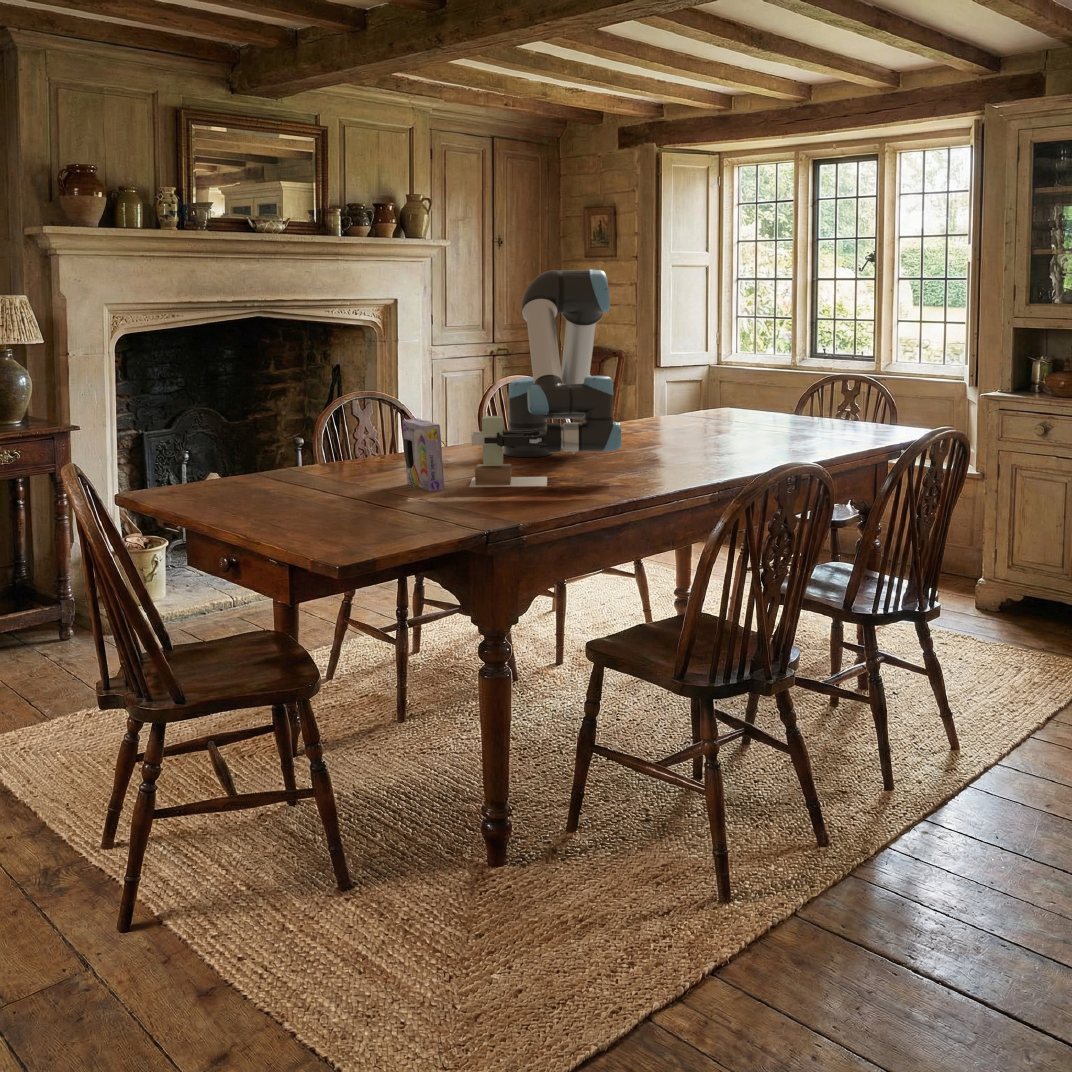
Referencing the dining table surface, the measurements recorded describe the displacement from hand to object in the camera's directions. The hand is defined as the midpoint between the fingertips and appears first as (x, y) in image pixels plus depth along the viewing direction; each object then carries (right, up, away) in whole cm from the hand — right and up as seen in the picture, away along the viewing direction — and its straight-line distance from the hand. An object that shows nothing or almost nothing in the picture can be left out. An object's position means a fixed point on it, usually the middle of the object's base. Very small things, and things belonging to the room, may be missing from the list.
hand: (472, 438), depth 302 cm
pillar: (+5, -6, +1) cm, 8 cm away
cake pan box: (-13, -13, 0) cm, 18 cm away
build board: (+9, -12, +3) cm, 16 cm away
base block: (+5, -11, +2) cm, 13 cm away
